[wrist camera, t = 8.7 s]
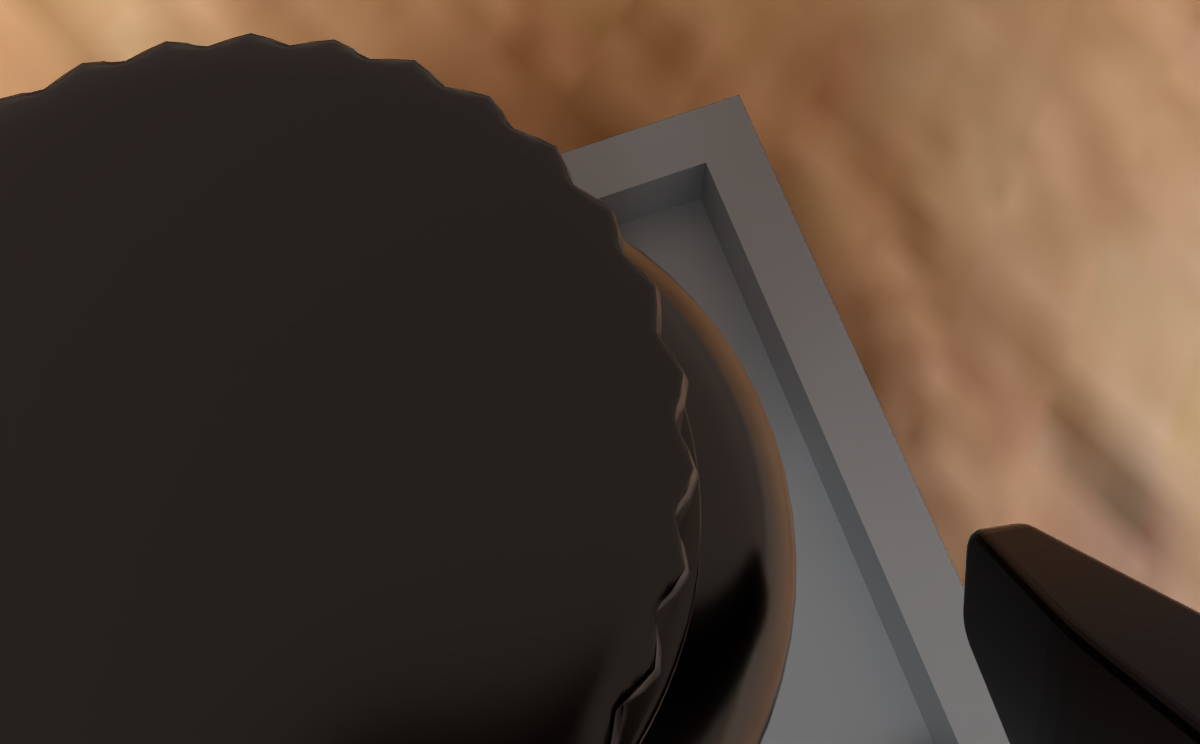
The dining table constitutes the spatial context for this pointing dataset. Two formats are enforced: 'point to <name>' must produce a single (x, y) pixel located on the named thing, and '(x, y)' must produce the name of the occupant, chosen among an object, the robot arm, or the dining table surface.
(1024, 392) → the dining table surface
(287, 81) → the supplement bottle
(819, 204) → the dining table surface
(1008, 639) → the robot arm
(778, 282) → the tray
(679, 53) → the dining table surface
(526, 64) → the dining table surface
